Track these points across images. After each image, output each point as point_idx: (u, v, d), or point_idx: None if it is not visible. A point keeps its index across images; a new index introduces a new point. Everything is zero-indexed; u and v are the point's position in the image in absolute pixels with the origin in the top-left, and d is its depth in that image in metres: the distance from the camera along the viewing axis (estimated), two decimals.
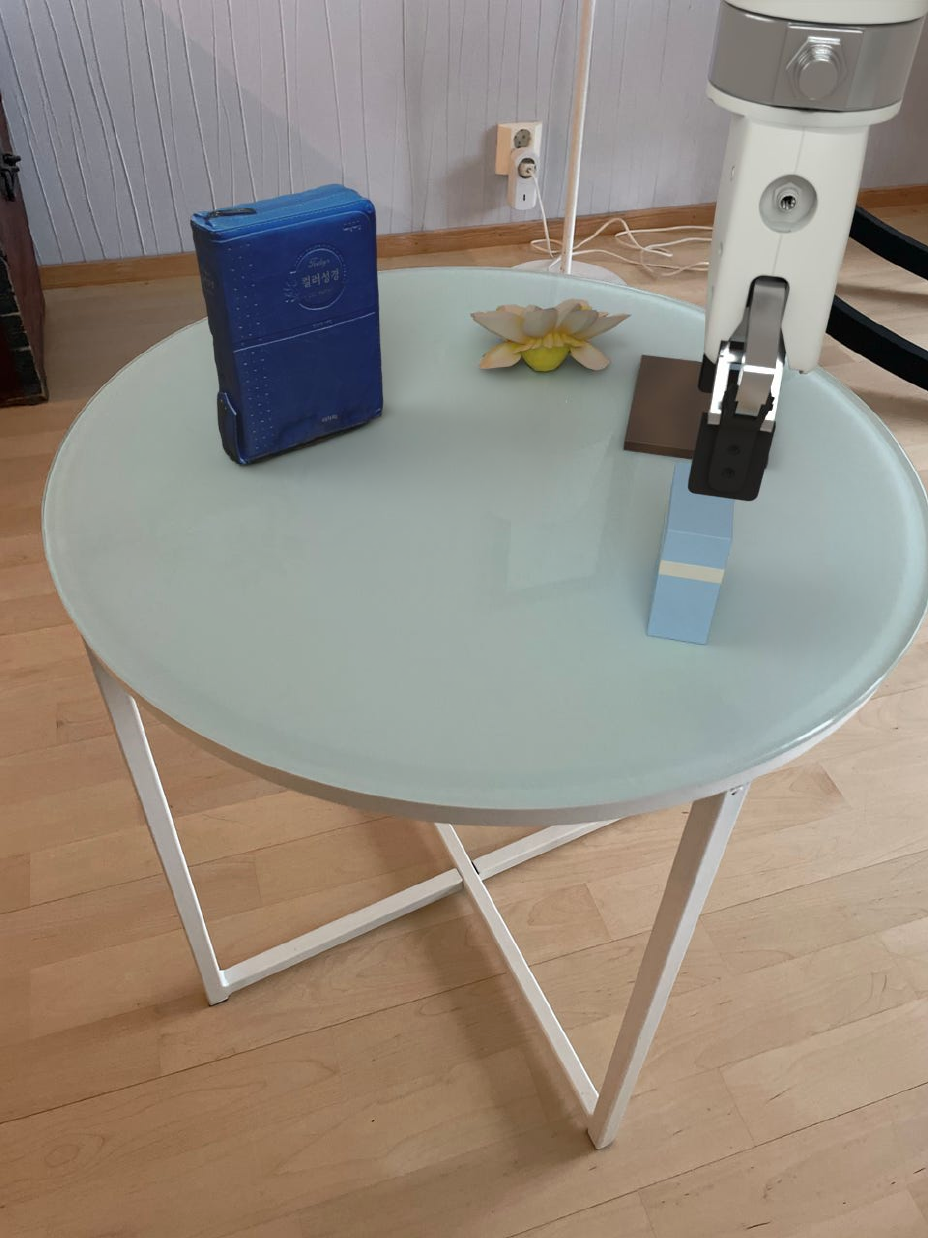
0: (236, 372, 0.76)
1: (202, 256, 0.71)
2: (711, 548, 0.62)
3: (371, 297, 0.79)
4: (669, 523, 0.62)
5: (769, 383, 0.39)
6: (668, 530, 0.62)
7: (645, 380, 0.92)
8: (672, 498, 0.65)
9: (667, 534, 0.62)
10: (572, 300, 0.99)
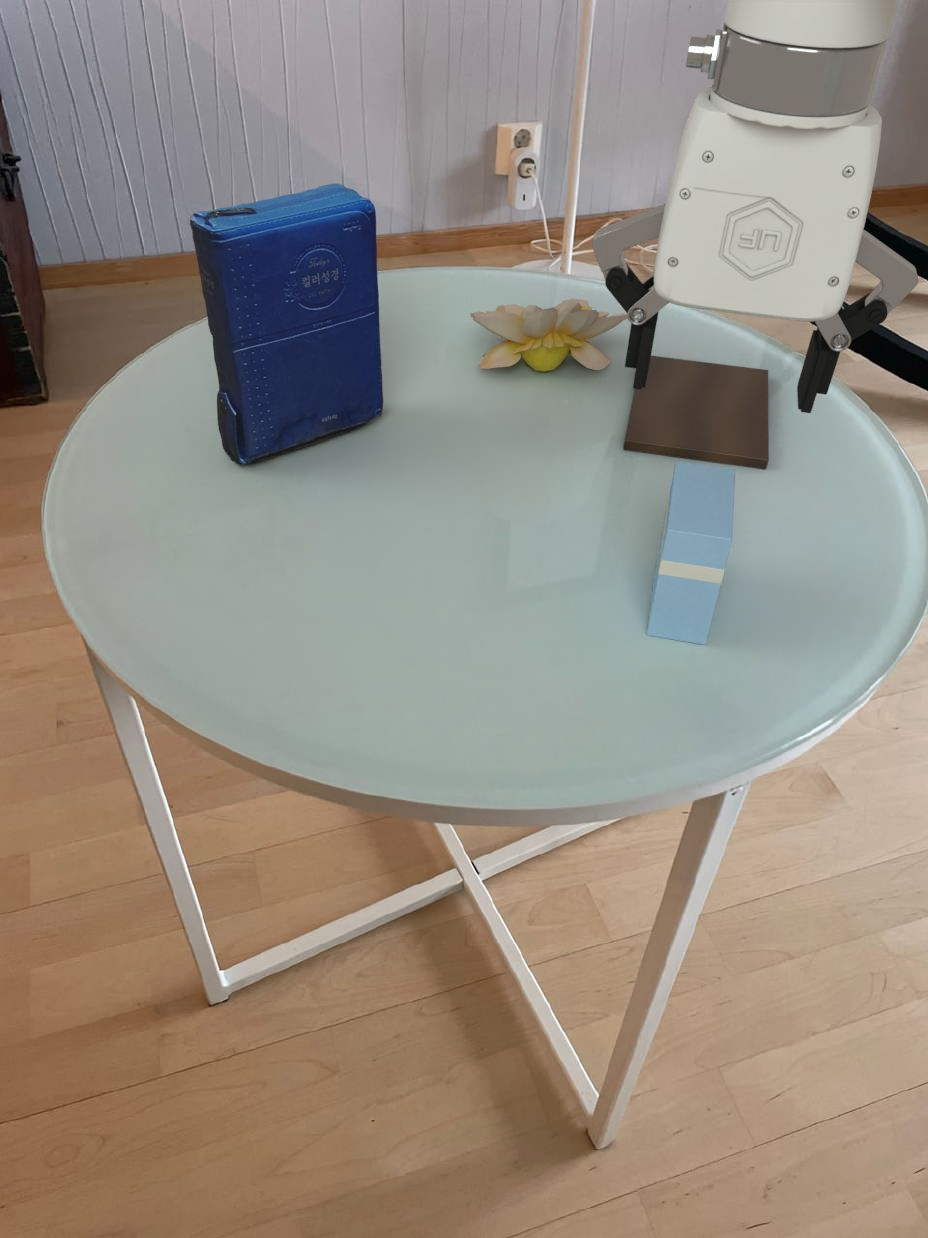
0: (236, 372, 0.76)
1: (202, 256, 0.71)
2: (711, 548, 0.62)
3: (371, 297, 0.79)
4: (669, 523, 0.62)
5: None
6: (668, 530, 0.62)
7: None
8: (672, 498, 0.65)
9: (667, 534, 0.62)
10: (572, 300, 0.99)
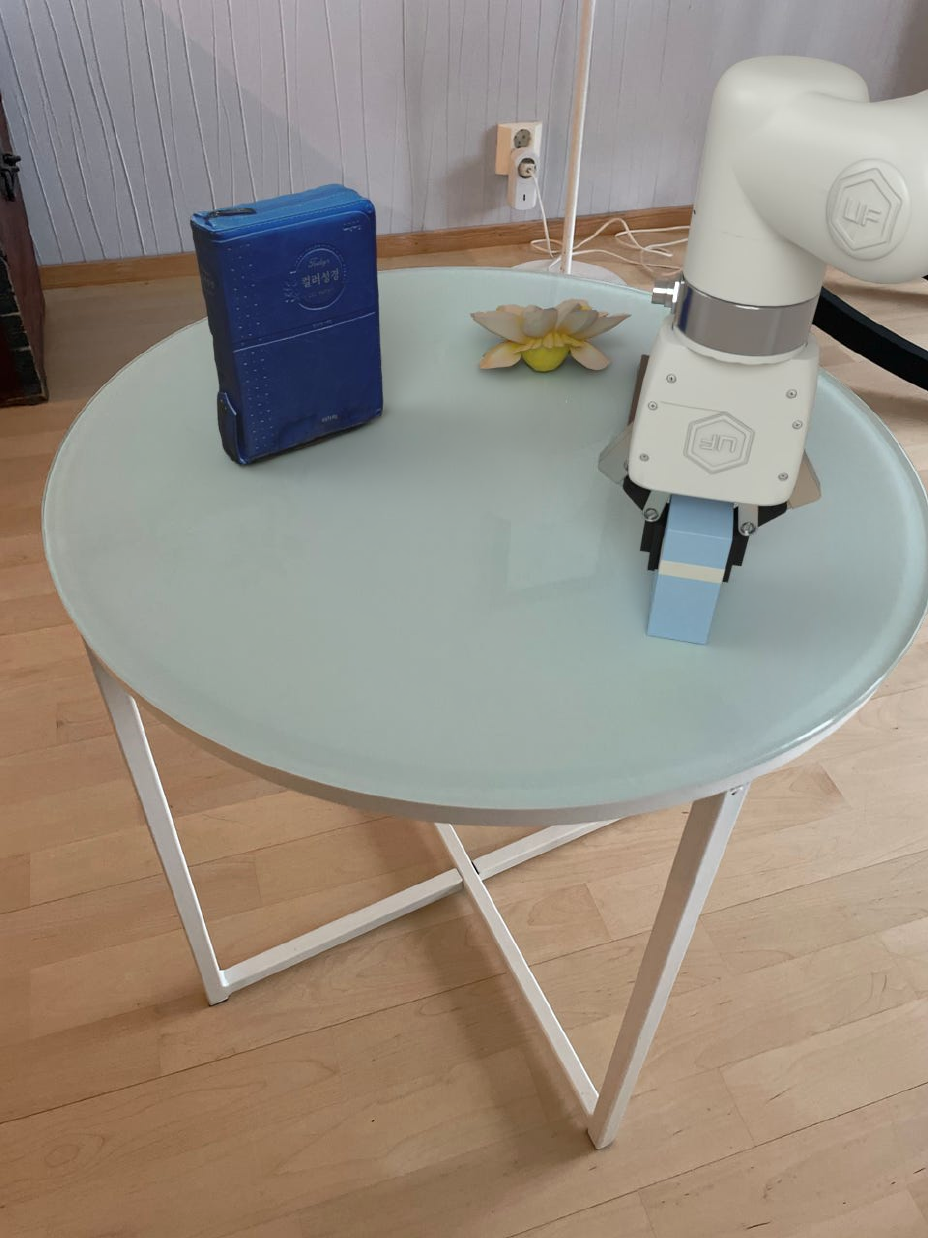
0: (236, 372, 0.76)
1: (202, 256, 0.71)
2: (711, 548, 0.62)
3: (371, 297, 0.79)
4: (669, 523, 0.62)
5: None
6: (668, 530, 0.62)
7: None
8: (672, 498, 0.65)
9: (667, 534, 0.62)
10: (572, 300, 0.99)
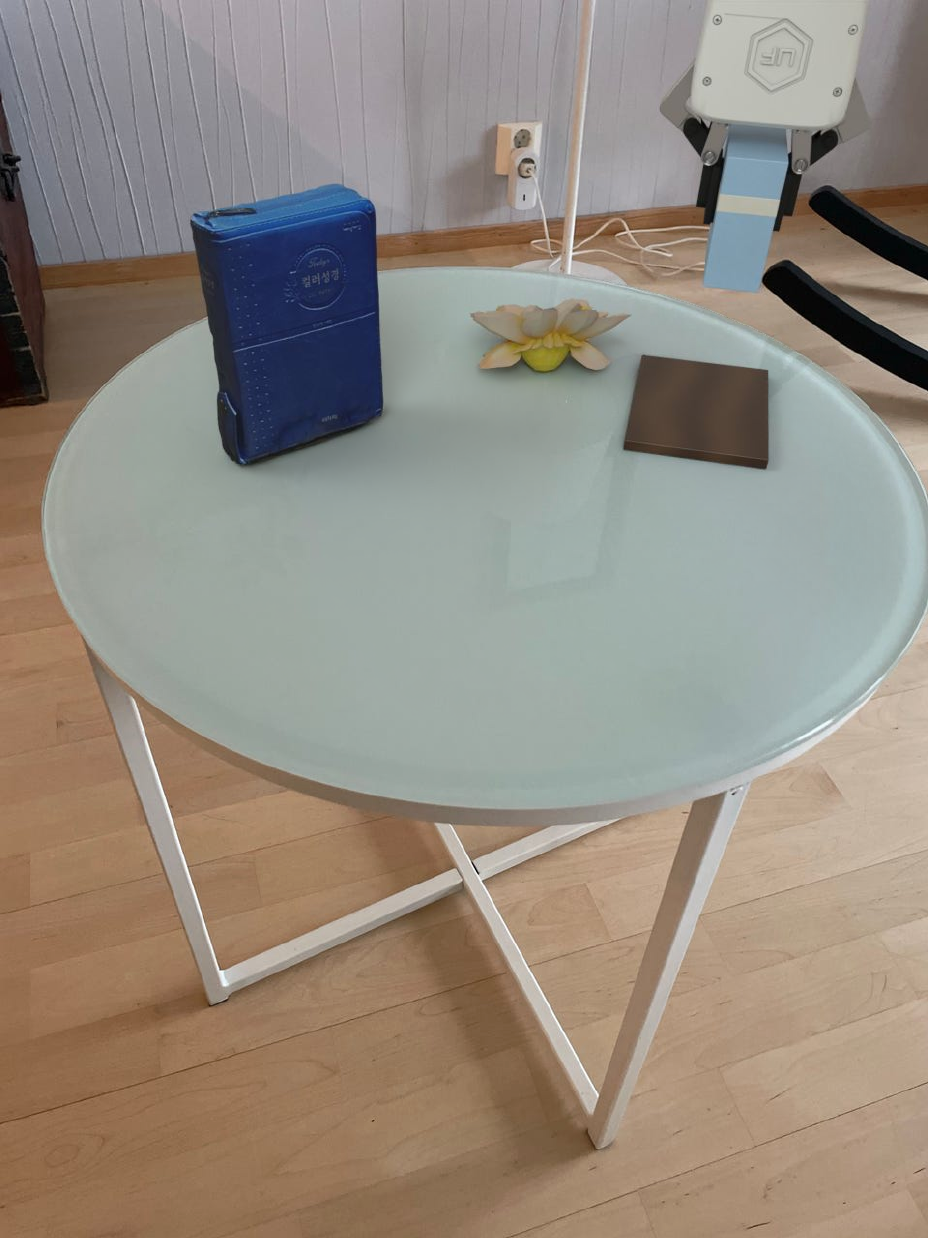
0: (236, 372, 0.76)
1: (202, 256, 0.71)
2: (768, 175, 0.67)
3: (371, 297, 0.79)
4: (728, 153, 0.67)
5: (662, 113, 0.69)
6: (728, 157, 0.66)
7: (645, 380, 0.92)
8: (729, 140, 0.69)
9: (727, 162, 0.67)
10: (572, 300, 0.99)
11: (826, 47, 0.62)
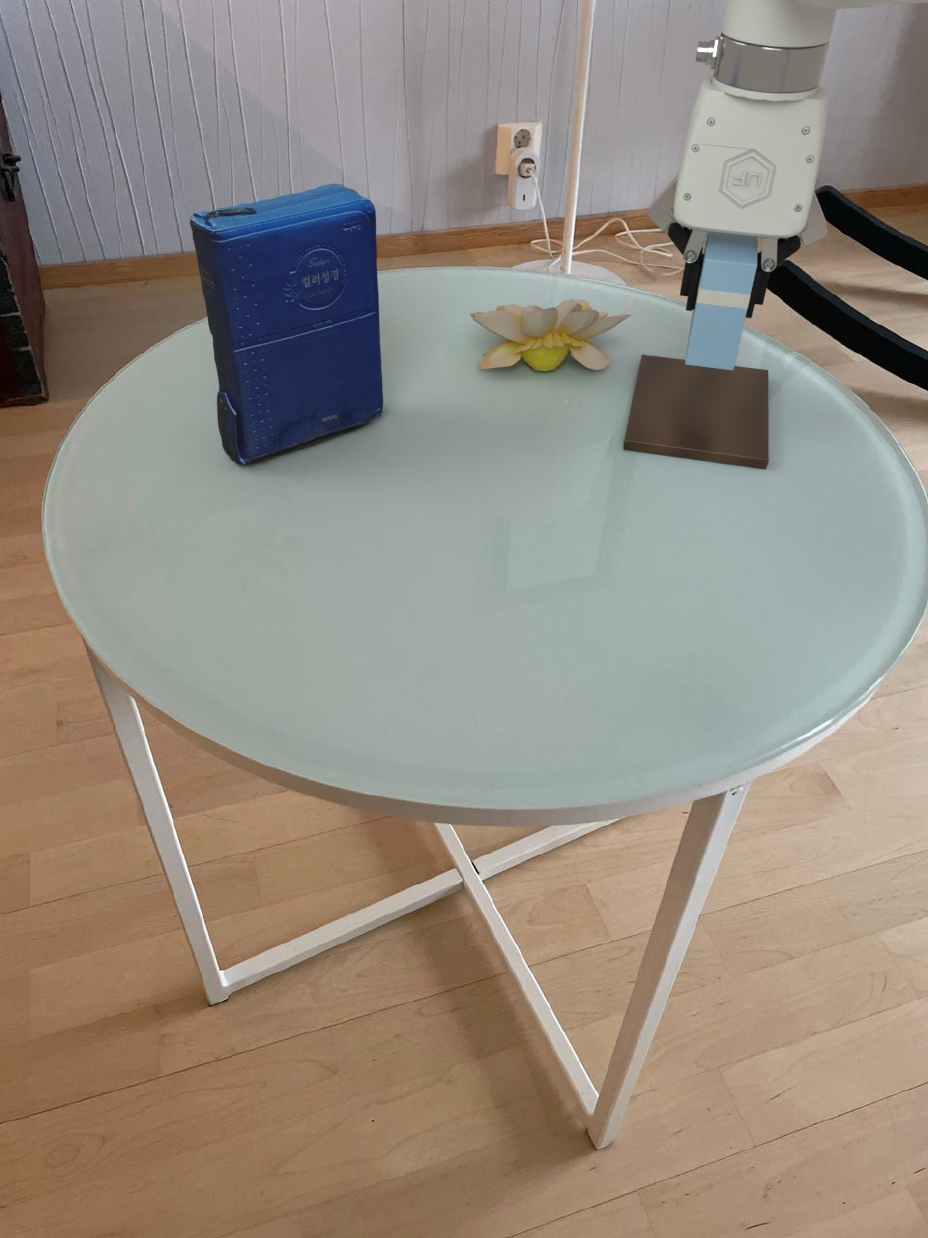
0: (236, 372, 0.76)
1: (202, 256, 0.71)
2: (740, 274, 0.78)
3: (371, 297, 0.79)
4: (706, 255, 0.78)
5: None
6: (705, 259, 0.77)
7: (645, 380, 0.92)
8: (707, 242, 0.80)
9: (704, 263, 0.78)
10: (572, 300, 0.99)
11: (787, 172, 0.73)
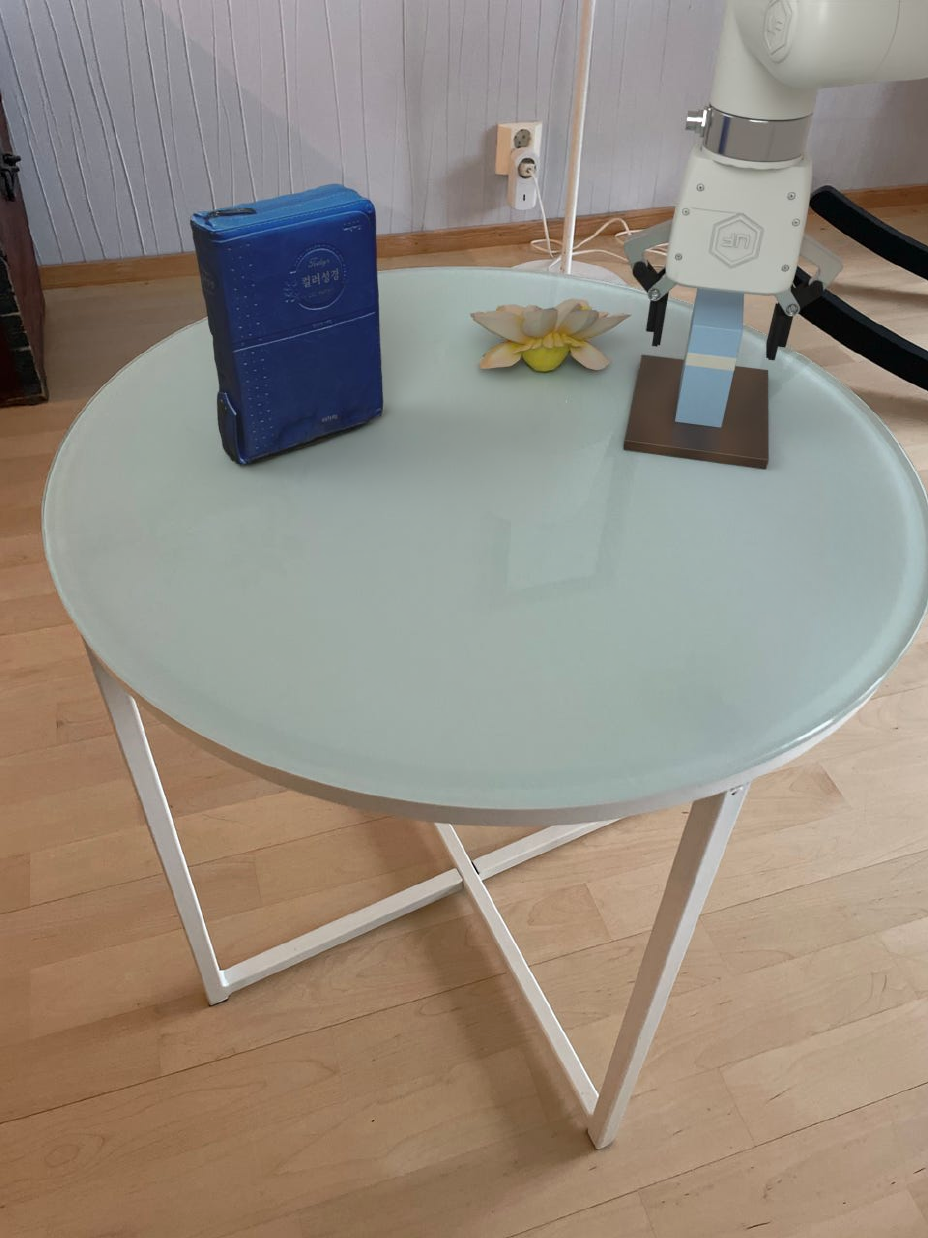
0: (236, 372, 0.76)
1: (202, 256, 0.71)
2: (726, 339, 0.81)
3: (371, 297, 0.79)
4: (694, 321, 0.82)
5: (624, 248, 0.82)
6: (693, 325, 0.81)
7: (645, 380, 0.92)
8: (696, 307, 0.84)
9: (692, 329, 0.81)
10: (572, 300, 0.99)
11: (774, 235, 0.76)
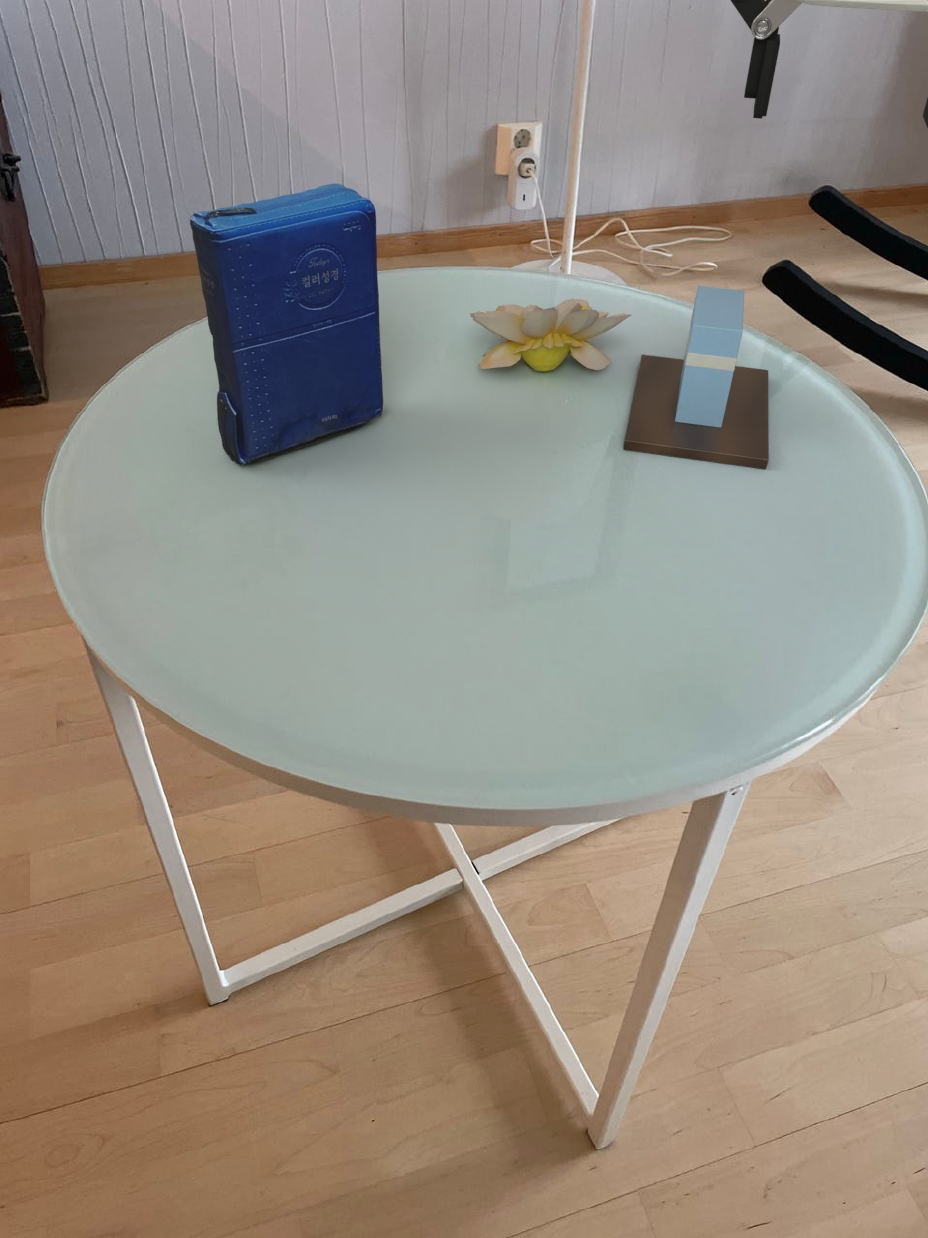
0: (236, 372, 0.76)
1: (202, 256, 0.71)
2: (726, 339, 0.81)
3: (371, 297, 0.79)
4: (694, 321, 0.82)
5: None
6: (693, 325, 0.81)
7: (645, 380, 0.92)
8: (696, 307, 0.84)
9: (692, 329, 0.81)
10: (572, 300, 0.99)
11: None
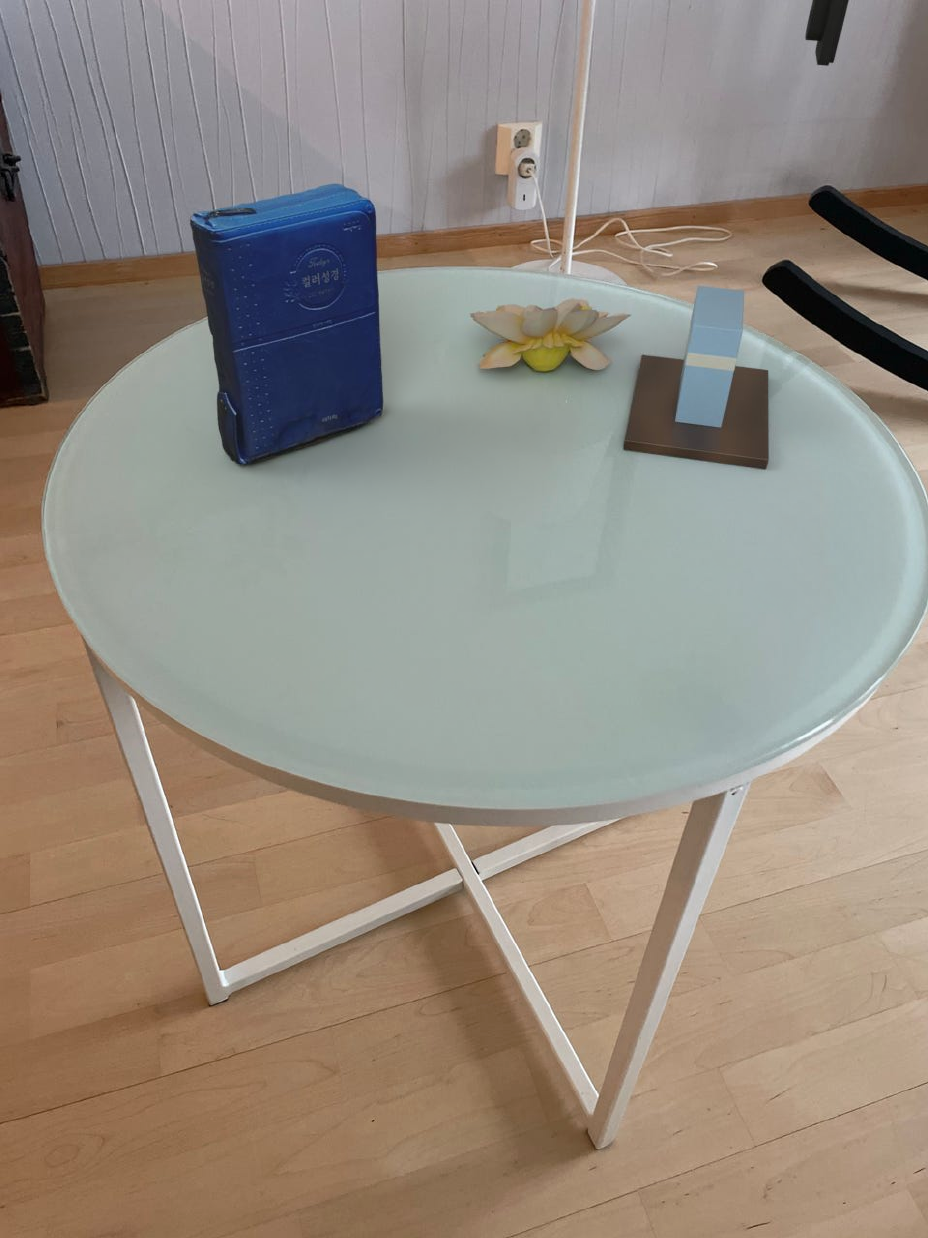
0: (236, 372, 0.76)
1: (202, 256, 0.71)
2: (726, 339, 0.81)
3: (371, 297, 0.79)
4: (694, 321, 0.82)
5: None
6: (693, 325, 0.81)
7: (645, 380, 0.92)
8: (696, 307, 0.84)
9: (692, 329, 0.81)
10: (572, 300, 0.99)
11: None
